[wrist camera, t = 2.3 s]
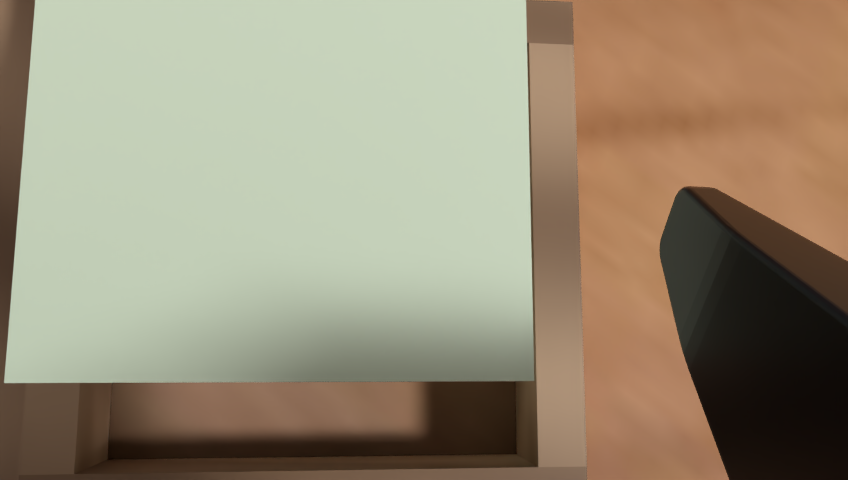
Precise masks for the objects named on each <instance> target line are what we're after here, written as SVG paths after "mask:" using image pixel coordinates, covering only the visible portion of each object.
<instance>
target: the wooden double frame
mask: <svg viewBox="0 0 848 480" xmlns="http://www.w3.org/2000/svg"><path fill="white" fill-rule="evenodd" d="M34 9H35V0H0V480H587V455H586V424H585V392H584V360H583V328H582V296H581V264H580V232H579V200H578V168H577V136H576V104H575V72H574V40H573V8H572V2H559V1H538V0H526V22H527V68H528V114H529V161H530V207H531V253H532V299H533V346H534V381H515V382H516V438H517V454H492V455H417V456H342V457H267V458H192V459H117V460H107V457H108V440H109V424H110V407H111V391H112V383H4V378H5V366H6V353H7V341H8V329H9V317H10V304H11V292H12V280H13V267H14V255H15V243H16V231H17V218H18V206H19V194H20V181H21V169H22V157H23V144H24V132H25V120H26V108H27V95H28V83H29V71H30V58H31V46H32V34H33V22H34Z"/></svg>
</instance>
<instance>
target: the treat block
mask: <svg viewBox="0 0 848 480" xmlns="http://www.w3.org/2000/svg"><path fill="white" fill-rule="evenodd" d="M429 381H534V346H533V299H532V253H531V207H530V161H529V114H528V68H527V22H526V0H35V9H34V22H33V34H32V46H31V58H30V71H29V83H28V95H27V108H26V120H25V132H24V144H23V157H22V169H21V181H20V194H19V206H18V218H17V231H16V243H15V255H14V267H13V280H12V292H11V304H10V317H9V329H8V341H7V353H6V366H5V378H4V383H169V382H429Z"/></svg>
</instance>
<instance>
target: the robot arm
mask: <svg viewBox="0 0 848 480" xmlns="http://www.w3.org/2000/svg"><path fill="white" fill-rule="evenodd" d="M660 259H661V263H662V267H663V272H664V276H665V280H666V284H667V289H668V293H669V297H670V301H671V306H672V310H673V314H674V318H675V323H676V327H677V331H678V335H679V339H680V343H681V347H682V350H683V354H684V357H685V360H686V363H687V366H688V369H689V372H690V374H691V377H692V380H693V383H694V385H695V388H696V391H697V393H698V396H699V399H700V402H701V404H702V407H703V410H704V412H705V415H706V418H707V421H708V423H709V426H710V429H711V431H712V434H713V437H714V440H715V442H716V445H717V448H718V450H719V453H720V456H721V459H722V461H723V464H724V467H725V469H726V472H727V475H728V477H729V480H848V261H846V260H844V259H842V258H841V257H839V256H837V255H835V254H833V253H832V252H830V251H828V250H826V249H824V248H823V247H821V246H819V245H817V244H815V243H813V242H812V241H810V240H808V239H806V238H804V237H803V236H801V235H799V234H797V233H795V232H794V231H792V230H790V229H788V228H786V227H784V226H783V225H781V224H779V223H777V222H775V221H774V220H772V219H770V218H768V217H766V216H765V215H763V214H761V213H759V212H757V211H755V210H754V209H752V208H750V207H748V206H746V205H745V204H743V203H741V202H739V201H737V200H736V199H734V198H732V197H730V196H728V195H726V194H725V193H723V192H721V191H719V190H717V189H715V188H710V187H692V186H688V187H684V188H682V189H681V190H679V192H678V193H677V195H676V197H675V199H674V202H673V205H672V208H671V211H670V214H669V217H668V220H667V223H666V226H665V229H664V231H663V234H662V238H661V242H660Z"/></svg>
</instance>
